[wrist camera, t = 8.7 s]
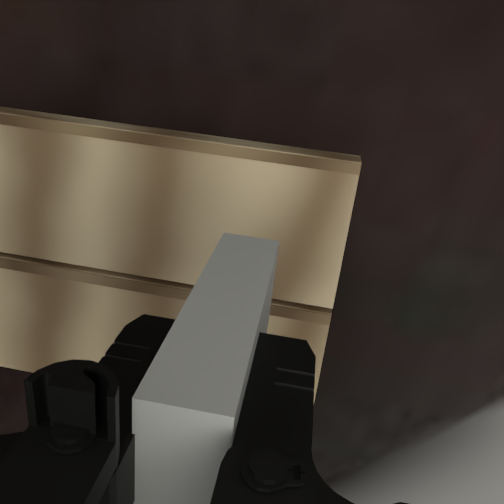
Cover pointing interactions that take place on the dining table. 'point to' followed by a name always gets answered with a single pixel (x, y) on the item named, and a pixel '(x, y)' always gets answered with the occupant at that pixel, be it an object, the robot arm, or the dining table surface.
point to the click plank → (171, 200)
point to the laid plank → (106, 312)
